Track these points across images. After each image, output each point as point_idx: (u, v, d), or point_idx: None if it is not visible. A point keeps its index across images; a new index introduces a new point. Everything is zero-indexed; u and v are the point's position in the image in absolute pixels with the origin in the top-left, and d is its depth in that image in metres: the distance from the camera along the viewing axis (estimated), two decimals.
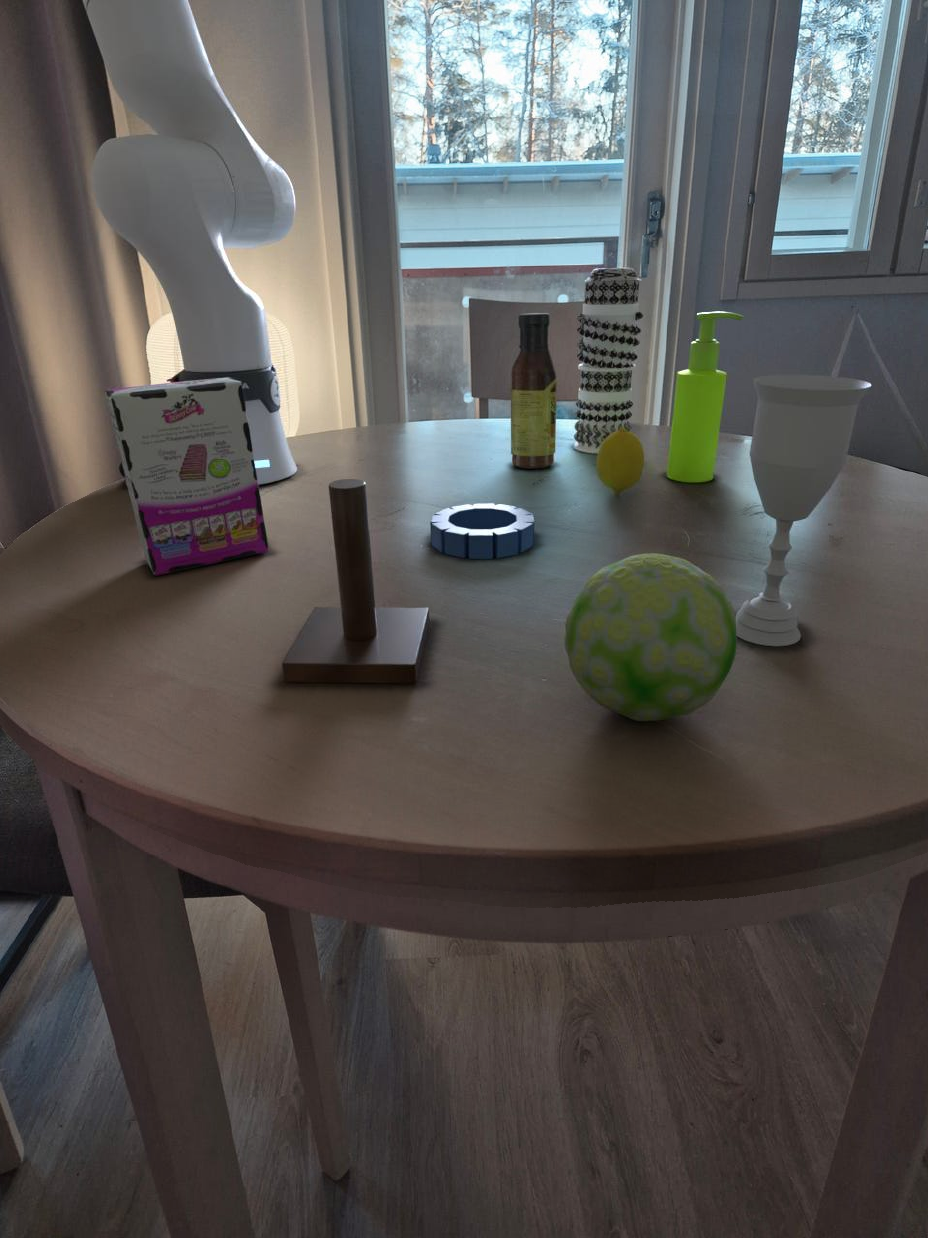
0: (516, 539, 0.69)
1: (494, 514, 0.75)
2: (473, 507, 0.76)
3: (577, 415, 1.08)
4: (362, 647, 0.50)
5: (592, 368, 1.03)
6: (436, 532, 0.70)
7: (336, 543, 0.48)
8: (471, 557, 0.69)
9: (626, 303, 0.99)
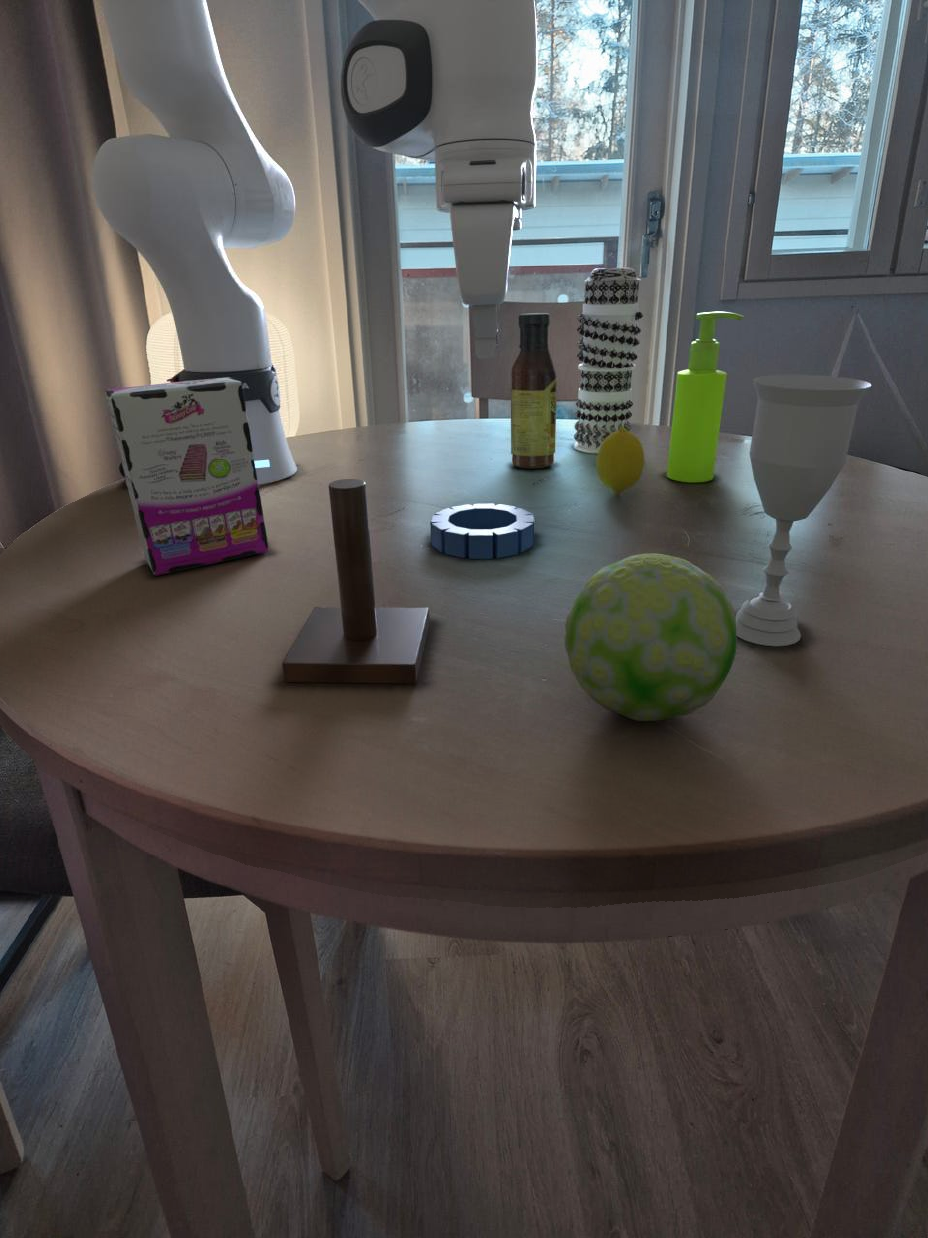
0: (516, 539, 0.69)
1: (494, 514, 0.75)
2: (473, 507, 0.76)
3: (577, 415, 1.08)
4: (362, 647, 0.50)
5: (592, 368, 1.03)
6: (436, 532, 0.70)
7: (336, 543, 0.48)
8: (471, 557, 0.69)
9: (626, 303, 0.99)
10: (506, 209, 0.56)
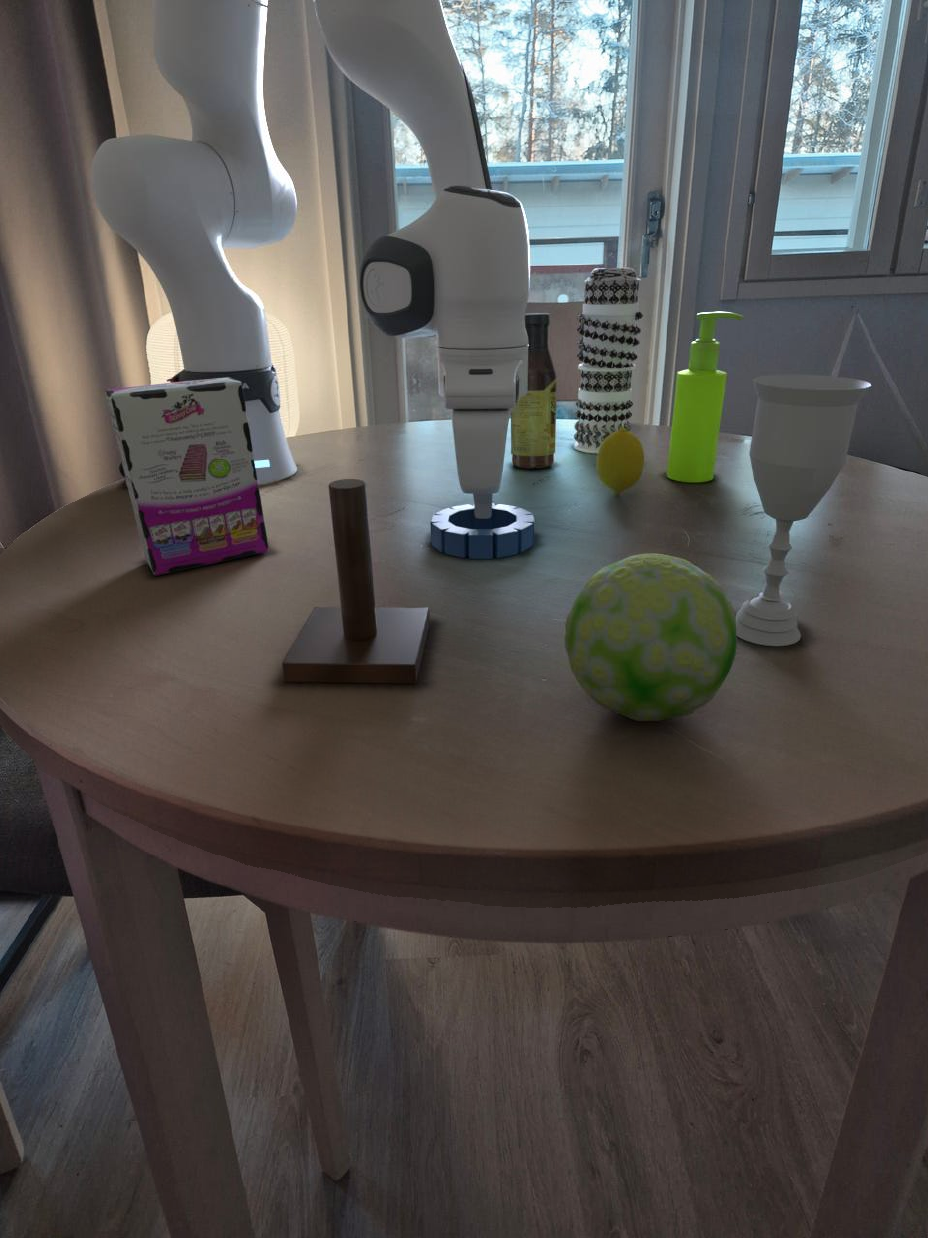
0: (516, 539, 0.69)
1: (494, 514, 0.75)
2: (473, 507, 0.76)
3: (577, 415, 1.08)
4: (362, 647, 0.50)
5: (592, 368, 1.03)
6: (436, 532, 0.70)
7: (336, 543, 0.48)
8: (471, 557, 0.69)
9: (626, 303, 0.99)
10: (501, 417, 0.63)
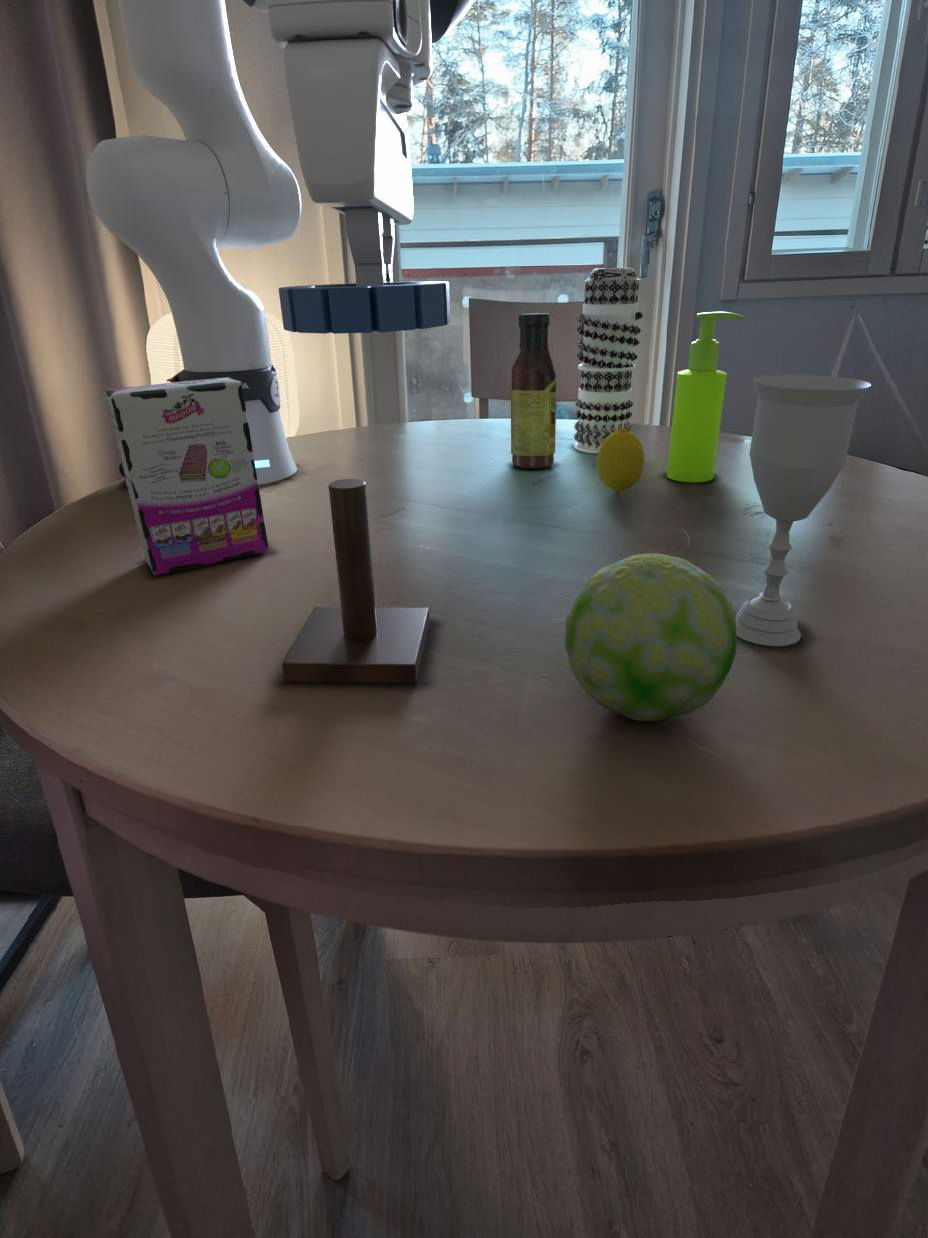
0: (411, 301, 0.41)
1: None
2: None
3: (577, 415, 1.08)
4: (362, 647, 0.50)
5: (592, 368, 1.03)
6: (284, 298, 0.43)
7: (336, 543, 0.48)
8: (336, 330, 0.41)
9: (626, 303, 0.99)
10: (368, 44, 0.36)
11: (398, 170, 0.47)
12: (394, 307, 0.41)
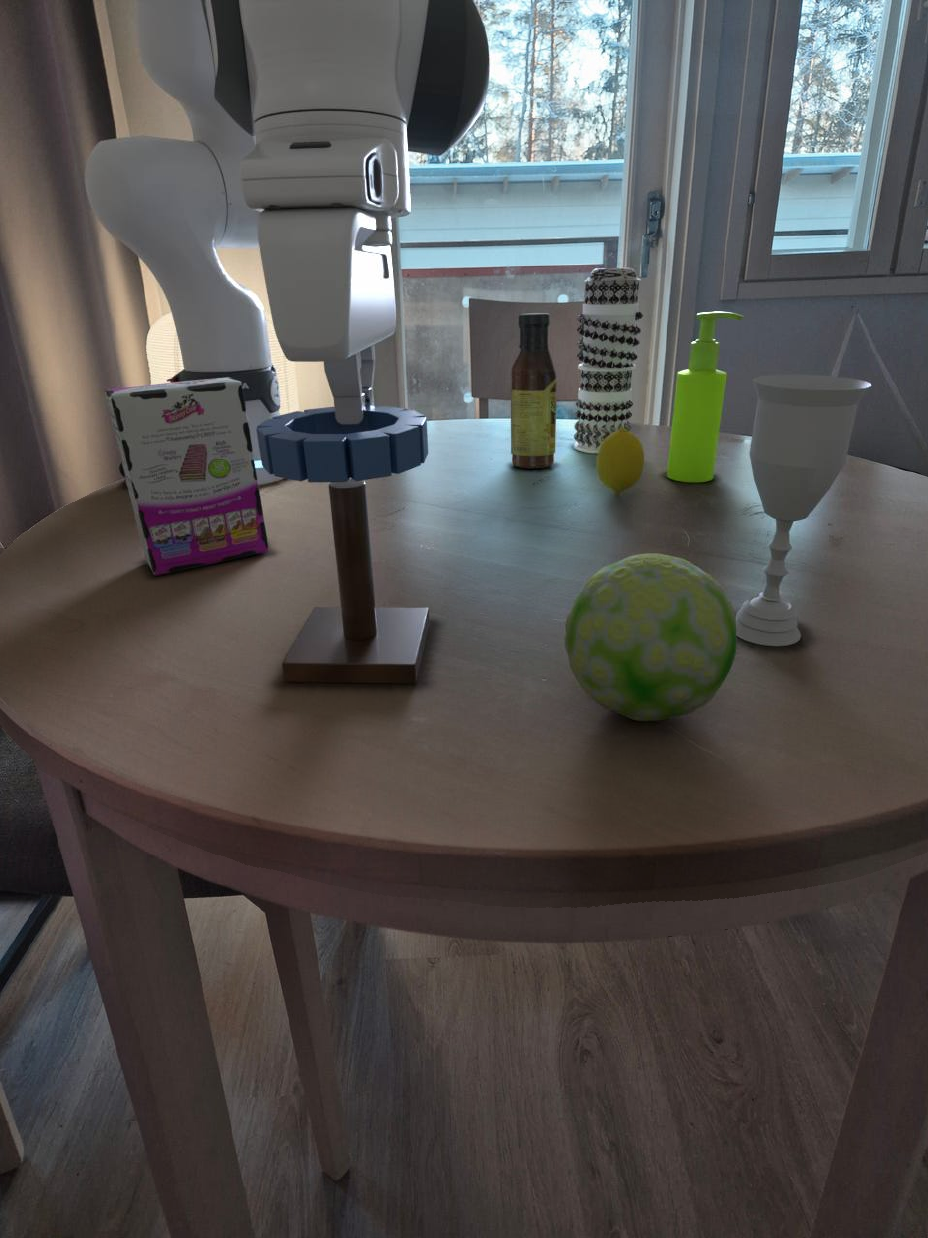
0: (386, 450, 0.42)
1: (371, 420, 0.48)
2: None
3: (577, 415, 1.08)
4: (362, 647, 0.50)
5: (592, 368, 1.03)
6: (261, 441, 0.43)
7: (336, 543, 0.48)
8: (311, 479, 0.42)
9: (626, 303, 0.99)
10: (341, 217, 0.36)
11: (378, 300, 0.47)
12: (369, 457, 0.41)
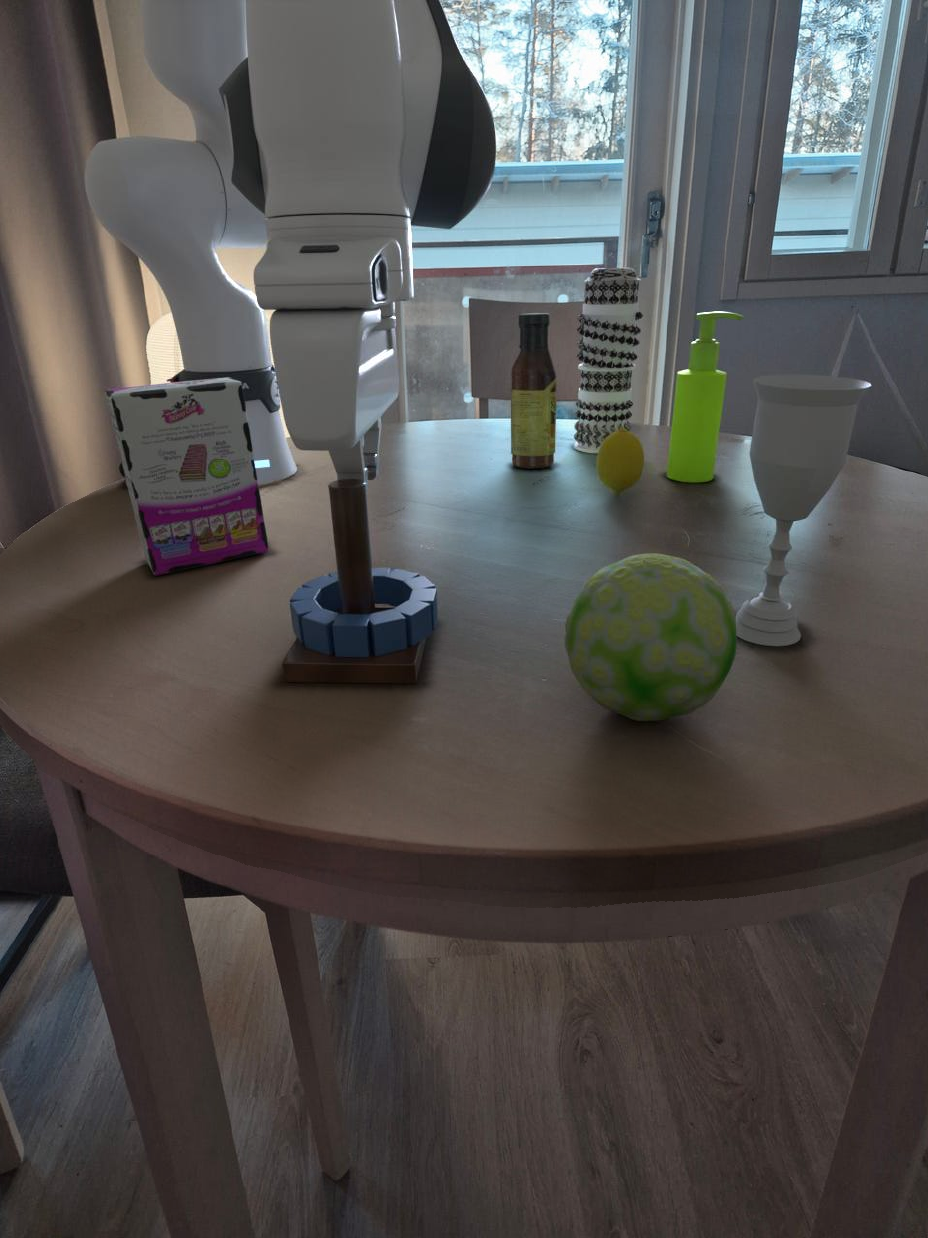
0: (403, 630, 0.48)
1: (387, 584, 0.55)
2: None
3: (577, 415, 1.08)
4: None
5: (592, 368, 1.03)
6: (294, 616, 0.50)
7: (336, 543, 0.48)
8: (338, 655, 0.48)
9: (626, 303, 0.99)
10: (348, 320, 0.38)
11: (382, 376, 0.49)
12: (388, 637, 0.48)
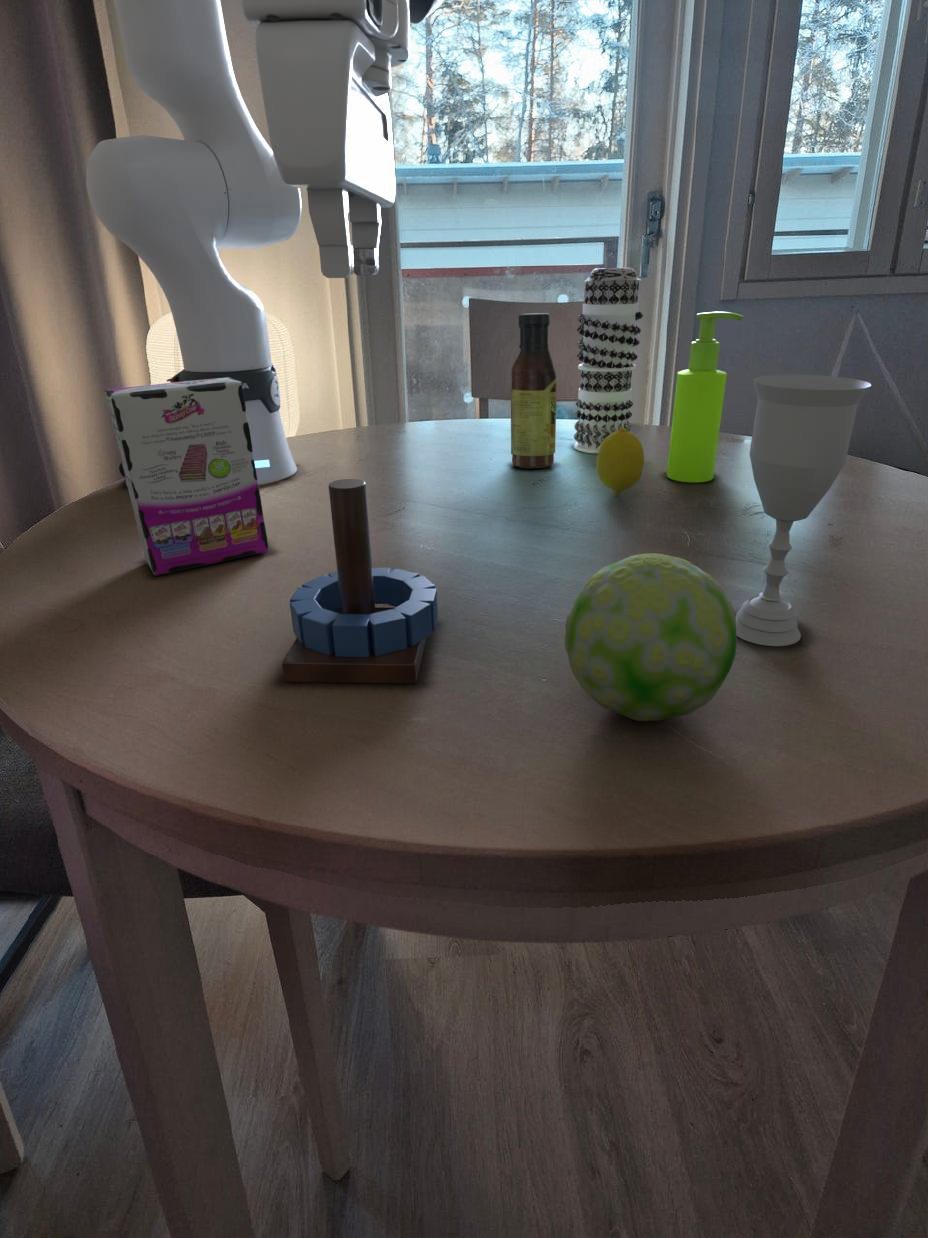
0: (403, 630, 0.48)
1: (387, 584, 0.55)
2: None
3: (577, 415, 1.08)
4: None
5: (592, 368, 1.03)
6: (294, 616, 0.50)
7: (336, 543, 0.48)
8: (338, 655, 0.48)
9: (626, 303, 0.99)
10: (339, 26, 0.36)
11: (377, 152, 0.47)
12: (388, 637, 0.48)
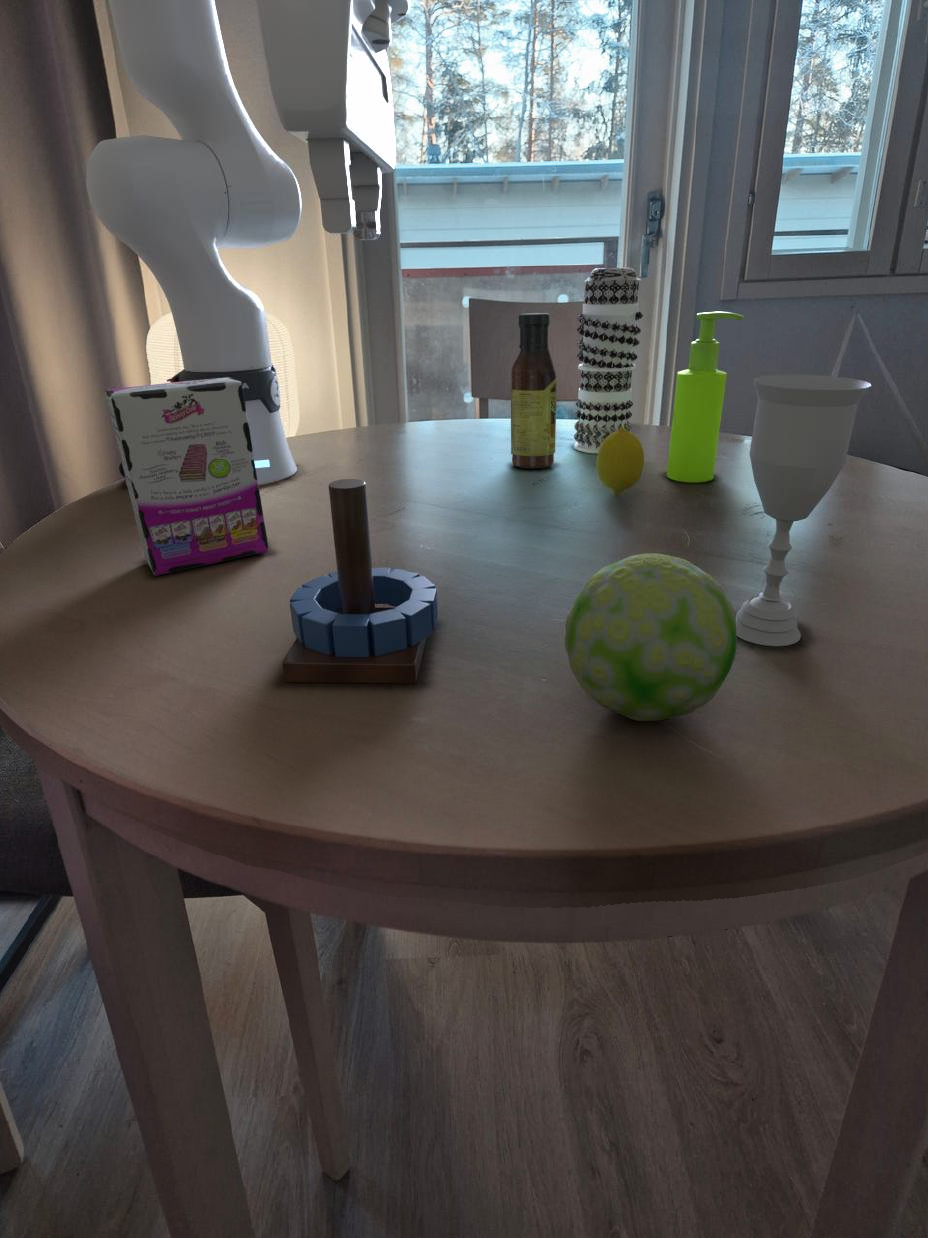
0: (403, 630, 0.48)
1: (387, 584, 0.55)
2: None
3: (577, 415, 1.08)
4: None
5: (592, 368, 1.03)
6: (294, 616, 0.50)
7: (336, 543, 0.48)
8: (338, 655, 0.48)
9: (626, 303, 0.99)
10: None
11: (377, 110, 0.47)
12: (388, 637, 0.48)
